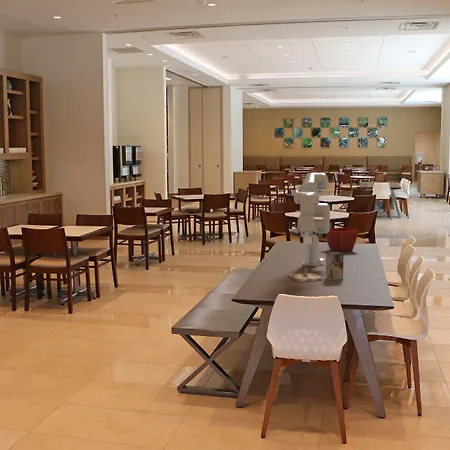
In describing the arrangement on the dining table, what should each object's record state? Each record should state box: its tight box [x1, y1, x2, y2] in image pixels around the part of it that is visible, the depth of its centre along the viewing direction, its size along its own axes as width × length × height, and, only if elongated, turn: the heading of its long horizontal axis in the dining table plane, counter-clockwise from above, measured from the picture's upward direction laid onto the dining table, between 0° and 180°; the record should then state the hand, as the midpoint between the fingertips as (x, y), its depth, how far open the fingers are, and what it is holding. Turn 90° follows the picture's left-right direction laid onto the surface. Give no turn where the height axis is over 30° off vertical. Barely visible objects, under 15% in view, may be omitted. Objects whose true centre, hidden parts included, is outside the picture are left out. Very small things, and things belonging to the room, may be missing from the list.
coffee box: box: [325, 251, 344, 281], centre depth 383 cm, size 9×6×16 cm
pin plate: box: [288, 268, 323, 283], centre depth 385 cm, size 16×16×6 cm
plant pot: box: [324, 226, 359, 253], centre depth 481 cm, size 19×19×17 cm
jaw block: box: [301, 234, 312, 246], centre depth 382 cm, size 5×7×5 cm
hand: (306, 242), depth 382 cm, fingers closed on jaw block, 5 cm apart
